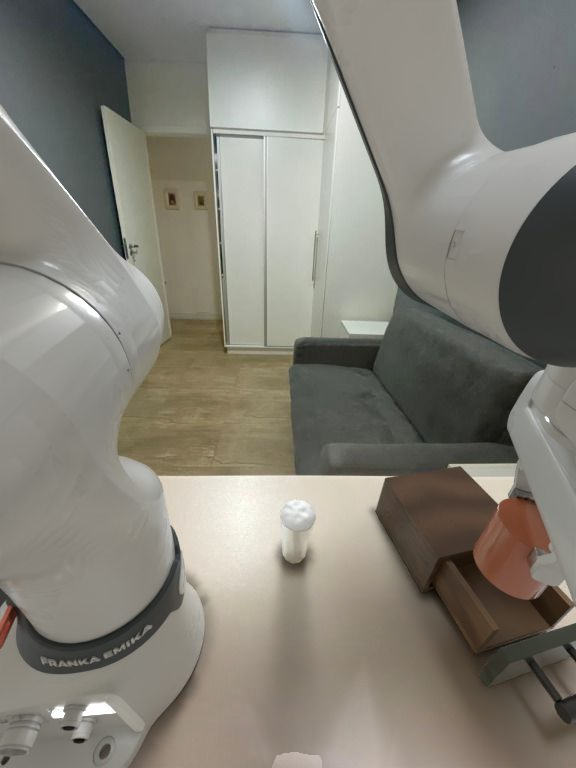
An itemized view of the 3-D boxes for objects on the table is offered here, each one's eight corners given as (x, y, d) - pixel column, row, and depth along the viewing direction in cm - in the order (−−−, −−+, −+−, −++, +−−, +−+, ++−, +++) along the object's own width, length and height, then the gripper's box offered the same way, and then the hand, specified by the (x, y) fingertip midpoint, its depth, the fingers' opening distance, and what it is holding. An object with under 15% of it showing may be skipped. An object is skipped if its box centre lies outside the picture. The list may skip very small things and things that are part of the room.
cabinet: (506, 570, 43) (530, 536, 39) (421, 592, 40) (439, 557, 36) (446, 498, 53) (460, 465, 50) (375, 511, 50) (385, 477, 47)
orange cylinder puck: (552, 612, 25) (591, 570, 22) (476, 582, 27) (504, 540, 24) (533, 552, 30) (563, 511, 27) (469, 530, 32) (492, 489, 29)
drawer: (621, 706, 31) (659, 683, 28) (522, 749, 28) (553, 728, 25) (495, 555, 44) (511, 529, 41) (419, 573, 41) (431, 547, 38)
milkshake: (266, 556, 43) (268, 507, 38) (292, 531, 46) (297, 484, 41) (290, 580, 40) (296, 531, 35) (316, 552, 44) (324, 504, 39)
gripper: (525, 338, 29) (472, 450, 36) (658, 500, 12) (512, 654, 19) (608, 352, 27) (536, 468, 34) (900, 565, 10) (642, 710, 17)
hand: (528, 536), depth 26 cm, fingers closed on orange cylinder puck, 5 cm apart
